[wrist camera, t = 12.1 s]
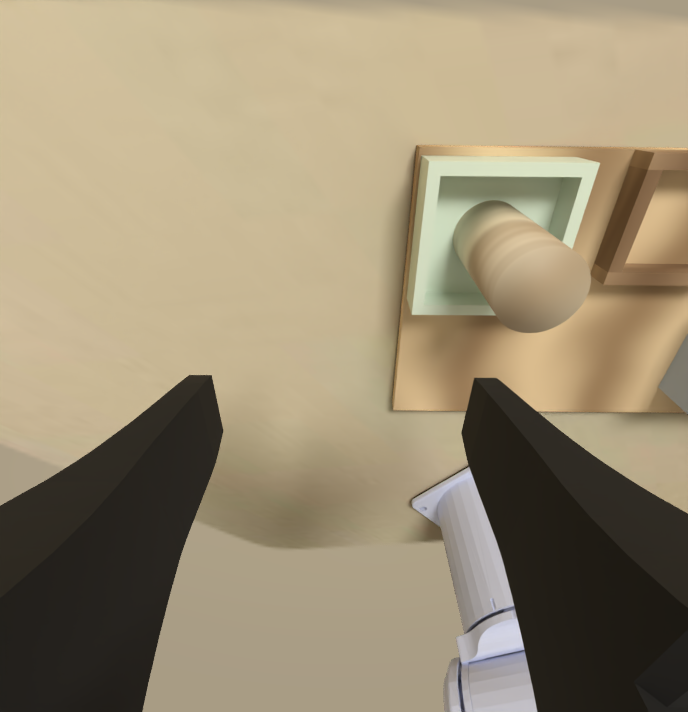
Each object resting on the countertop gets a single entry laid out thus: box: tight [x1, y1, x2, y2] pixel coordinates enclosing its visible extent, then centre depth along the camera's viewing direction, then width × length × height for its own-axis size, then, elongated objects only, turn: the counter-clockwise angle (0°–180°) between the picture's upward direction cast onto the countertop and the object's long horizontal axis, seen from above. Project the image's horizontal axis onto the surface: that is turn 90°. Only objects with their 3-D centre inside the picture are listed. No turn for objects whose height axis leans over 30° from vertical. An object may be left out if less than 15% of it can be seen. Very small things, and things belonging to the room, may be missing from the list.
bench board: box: [392, 145, 688, 413], centre depth 20 cm, size 25×14×2 cm, turn 90°
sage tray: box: [407, 155, 600, 316], centre depth 17 cm, size 6×6×2 cm
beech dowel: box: [453, 200, 591, 333], centre depth 15 cm, size 3×3×6 cm
